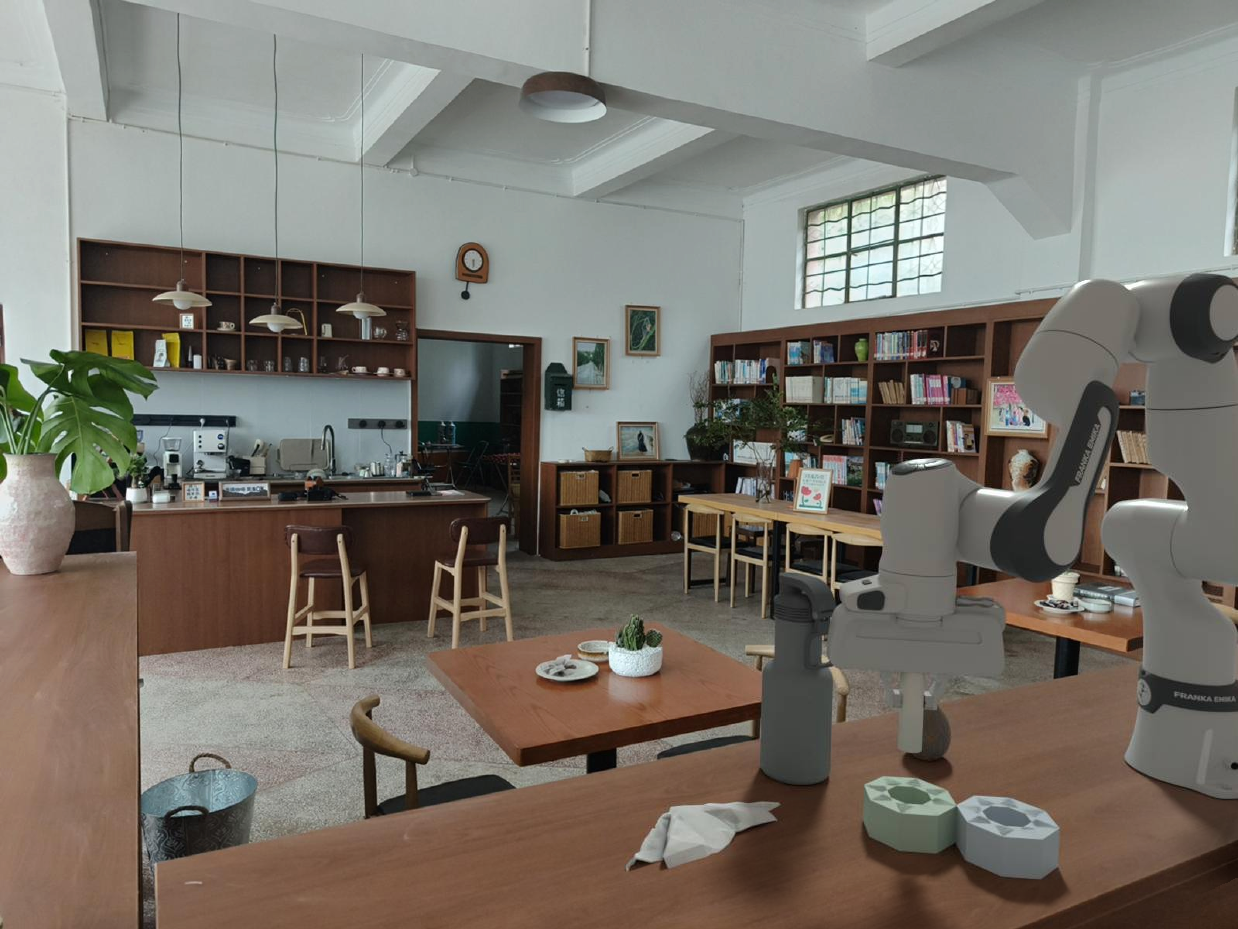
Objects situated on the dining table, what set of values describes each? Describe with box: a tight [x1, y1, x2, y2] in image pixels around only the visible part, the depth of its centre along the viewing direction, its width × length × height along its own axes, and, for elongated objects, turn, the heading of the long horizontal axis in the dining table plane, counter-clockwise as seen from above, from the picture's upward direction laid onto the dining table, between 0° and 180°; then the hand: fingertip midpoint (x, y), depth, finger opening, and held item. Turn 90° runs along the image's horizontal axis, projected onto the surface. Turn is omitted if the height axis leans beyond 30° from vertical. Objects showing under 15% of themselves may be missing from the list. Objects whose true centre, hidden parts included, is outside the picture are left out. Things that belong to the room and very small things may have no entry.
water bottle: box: [759, 571, 837, 786], centre depth 116 cm, size 10×10×28 cm
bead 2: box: [954, 795, 1061, 880], centre depth 96 cm, size 10×10×4 cm
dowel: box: [896, 672, 926, 754], centre depth 100 cm, size 3×3×12 cm
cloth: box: [625, 801, 781, 873], centre depth 100 cm, size 26×14×2 cm, turn 117°
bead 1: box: [862, 776, 958, 855], centre depth 101 cm, size 10×10×4 cm
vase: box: [910, 704, 952, 762], centre depth 124 cm, size 7×7×9 cm
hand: (911, 707), depth 100 cm, fingers closed on dowel, 3 cm apart
